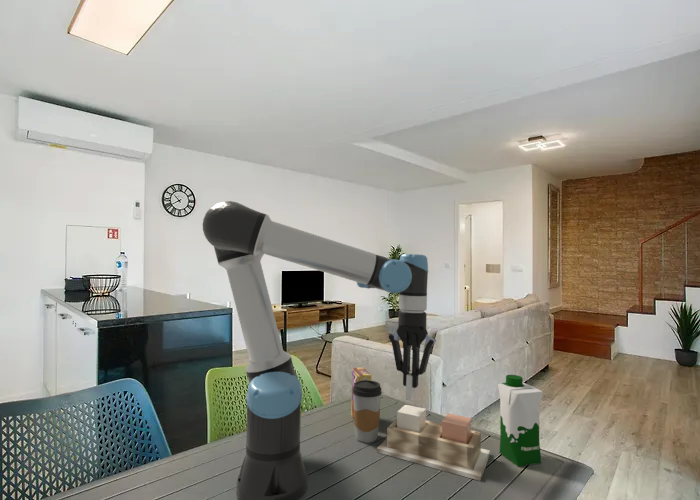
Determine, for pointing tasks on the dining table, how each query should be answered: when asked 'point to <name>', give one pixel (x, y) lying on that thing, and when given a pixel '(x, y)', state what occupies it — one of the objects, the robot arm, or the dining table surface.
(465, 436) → the salmon pink block
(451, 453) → the housing
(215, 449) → the dining table surface
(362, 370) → the candy box
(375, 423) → the coffee cup
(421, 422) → the white block
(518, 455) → the milk carton
